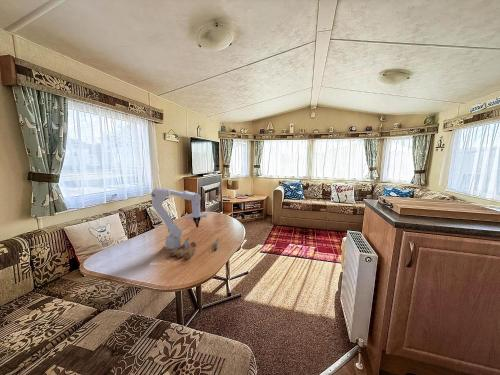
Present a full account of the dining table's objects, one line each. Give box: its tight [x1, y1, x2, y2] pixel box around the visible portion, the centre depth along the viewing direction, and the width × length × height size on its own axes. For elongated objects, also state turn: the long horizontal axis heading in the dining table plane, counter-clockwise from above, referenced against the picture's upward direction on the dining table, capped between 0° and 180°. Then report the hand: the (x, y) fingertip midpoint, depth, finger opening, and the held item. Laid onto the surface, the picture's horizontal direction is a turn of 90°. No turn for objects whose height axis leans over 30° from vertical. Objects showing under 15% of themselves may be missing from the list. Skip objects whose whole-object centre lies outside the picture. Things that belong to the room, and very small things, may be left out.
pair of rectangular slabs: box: [182, 237, 220, 252], centre depth 141 cm, size 22×12×4 cm, turn 93°
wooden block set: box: [168, 240, 197, 260], centre depth 128 cm, size 18×9×10 cm
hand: (197, 226), depth 150 cm, fingers closed
